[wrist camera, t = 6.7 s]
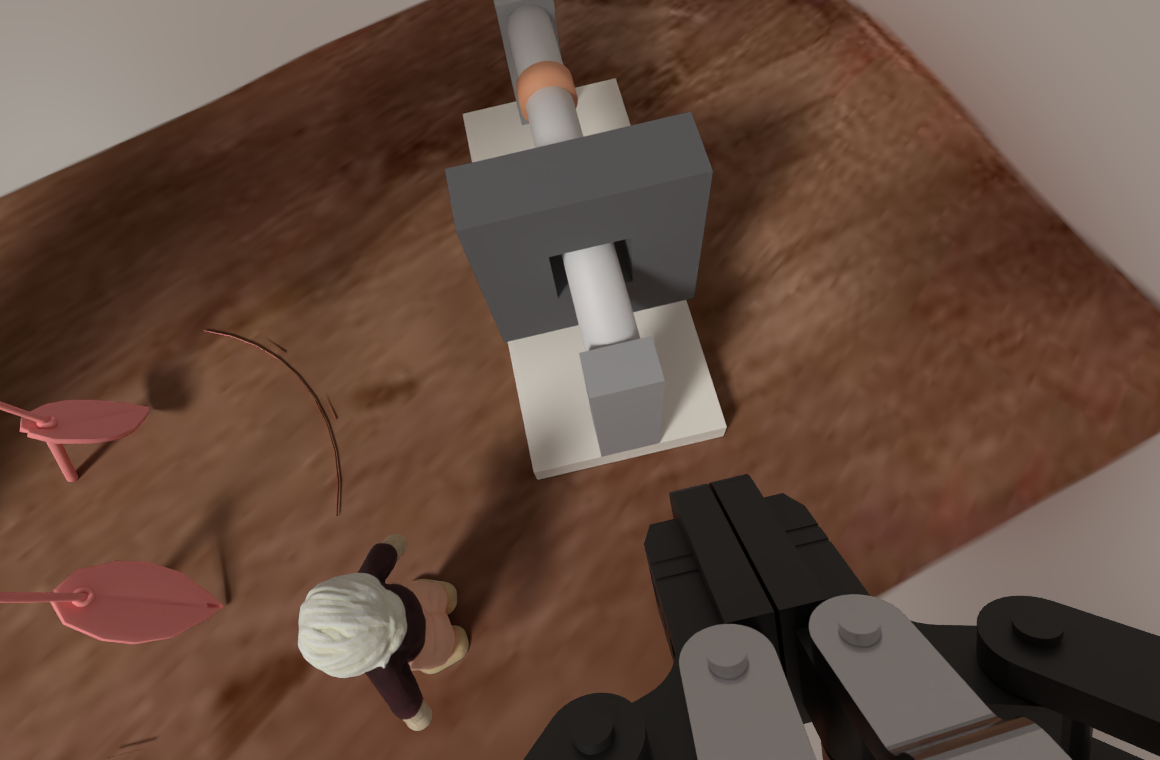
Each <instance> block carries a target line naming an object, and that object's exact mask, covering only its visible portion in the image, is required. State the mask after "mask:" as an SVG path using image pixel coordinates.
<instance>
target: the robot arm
mask: <svg viewBox="0 0 1160 760" xmlns="http://www.w3.org/2000/svg"><path fill="white" fill-rule="evenodd" d="M670 502H671V507H672V512H673V518H674V519H672V520H668V521H664V522H659V523H655V524H651V525H650V526H649V530H648V533H647V536H646V539H645V543H644V546H645V551H646V555H647V560H648V565H649V569H650V574H651V579H652V583H653V588H654V593H655V597H656V602H657V607H658V610H659V614H660V617H661V621H662V624H663V627H664V630H665V634H666V638H667V641H668V645H669V648H670V651H671V655H672V658H673V662H674V664H673V667H672V669H671V671H670V673H669V674H668V676H667V678H666V679H665V680H664V681H663V682H662V683H661V684H660V685H659V686H658V687H657V688H656V689H655V690H653V691H652V692H650V693H649V694H647V695H645V696H644V697H642V698H640V699H638V700H637V701H635V702H633V703H631V702H630V701H628V700H627V699H625V698H623V697H621V696H619V695H615V694H610V693H593V694H588V695H585V696H582V697H579V698H577V699H575V700H573V701H571V702H569V703H568V704H567V705H565V706H564V707H563V708H562V709H560V710H559V711H558V712H557V713H556V715H555V716H554V717H553V718H552V720H551V721H550V723H549V724H548V725H547V727H546V728H545V730H544V731H543V733H542V734H541V735H540V737H539V738H538V740H537V741H536V743H535V744H534V745H533V747H532V748H531V750H530V751H529V753H528V754H527V755H526V757H525V758H524V760H816V757H815V754H814V752H813V749H812V746H811V744H810V741H809V738H808V736H807V733H806V730H805V728H804V725H803V724H805V723H809V722H812V723H813V725H814V727H815V729H816V731H817V733H818V735H819V737H820V739H821V747H822V757H823V760H1144V759H1141V758H1139V757H1137V756H1134V755H1132V754H1130V753H1127V752H1125V751H1123V750H1121V749H1118V748H1116V747H1114V746H1111V745H1109V744H1107V743H1105V742H1102V741H1100V740H1098V739H1095V738H1093V737H1092V733H1093V728H1095V729H1097V730H1099V731H1102V732H1104V733H1106V734H1109V735H1111V736H1113V737H1116V738H1118V739H1120V740H1123V741H1125V742H1127V743H1130V744H1132V745H1135V746H1137V747H1139V748H1141V749H1144V750H1146V751H1148V752H1151V753H1154V754H1155V755H1158V756H1160V636H1157V635H1154V634H1151V633H1148V632H1145V631H1142V630H1139V629H1136V628H1133V627H1130V626H1127V625H1124V624H1120V623H1118V622H1115V621H1112V620H1109V619H1105V618H1102V617H1099V616H1096V615H1093V614H1090V613H1087V612H1084V611H1081V610H1078V609H1075V608H1072V607H1069V606H1066V605H1063V604H1060V603H1057V602H1054V601H1050V600H1047V599H1043V598H1038V597H1031V596H1009V597H1003V598H1000V599H996V600H994V601H992V602H990V603H988V604H987V605H986V606H984V607H983V609H982V610H981V611H980V613H979V615H978V617H977V626H963V625H962V626H961V625H931V624H923V623H917V622H913V621H910V620H909V619H908V618H907V617H906V616H905V614H903V613H902V612H901V611H900V610H899V609H898V608H897V607H895V606H894V605H892V604H890V603H888V602H886V601H884V600H882V599H879V598H876V597H872V596H870V595H869V593H868V592H867V591H866V589H865V588H864V587H863V585H862V584H861V582H860V581H859V580H858V578H857V577H856V576H855V574H854V573H853V571H852V570H851V569H850V567H849V566H848V565H847V563H846V562H845V561H844V559H843V558H842V556H841V555H840V554H839V552H838V551H837V550H836V548H835V547H834V545H833V544H832V543H831V542H829V540H828V537H827V536H826V534H825V533H824V532H823V530H822V529H821V528H820V527H818V523H817V522H816V521H815V519H814V518H813V517H812V515H811V514H810V512H809V511H808V510H807V508H806V507H805V506H804V505H802V504H801V503H799V502H797V501H795V500H794V499H792V498H790V497H788V496H787V495H785V494H783V493H781V494H777V495H773V496H769V497H763V496H762V494H761V493H760V491H759V490H758V488H757V486H756V485H755V483H754V482H753V480H752V479H751V477H750V476H749V475H748V474H745V475H740V476H736V477H732V478H728V479H723V480H719V481H715V482H711V483H709V485H708V484H703V485H699V486H694V487H690V488H686V489H682V490H677V491H673V492H670Z"/></svg>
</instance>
